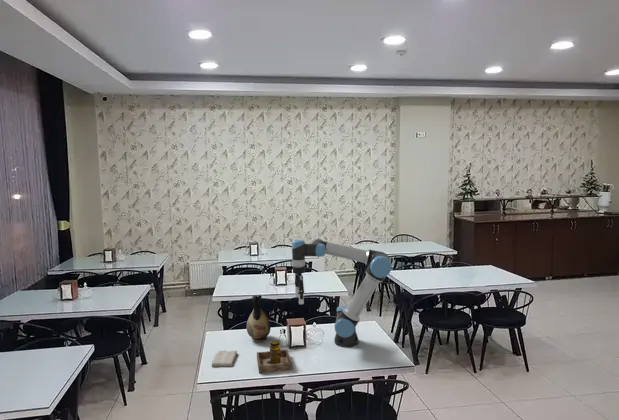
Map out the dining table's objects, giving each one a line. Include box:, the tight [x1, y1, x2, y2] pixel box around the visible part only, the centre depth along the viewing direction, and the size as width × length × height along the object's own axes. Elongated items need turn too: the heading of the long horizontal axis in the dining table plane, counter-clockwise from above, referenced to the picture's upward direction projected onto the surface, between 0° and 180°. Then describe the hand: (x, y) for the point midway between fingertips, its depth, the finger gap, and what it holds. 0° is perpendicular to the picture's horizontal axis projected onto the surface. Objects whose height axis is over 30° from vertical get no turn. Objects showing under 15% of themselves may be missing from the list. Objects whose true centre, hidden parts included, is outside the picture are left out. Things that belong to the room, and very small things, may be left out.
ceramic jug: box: [246, 294, 272, 343], centre depth 282 cm, size 17×15×30 cm
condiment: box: [265, 340, 283, 365], centre depth 247 cm, size 7×8×12 cm
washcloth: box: [211, 350, 238, 368], centre depth 255 cm, size 12×18×3 cm, turn 0°
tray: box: [256, 349, 293, 374], centre depth 248 cm, size 18×18×4 cm
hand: (299, 300), depth 264 cm, fingers open, 13 cm apart
